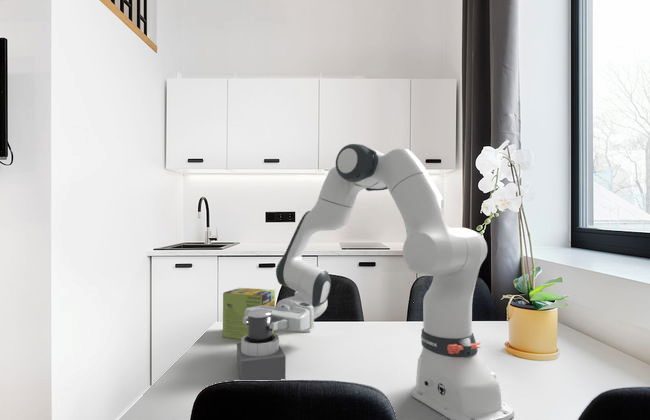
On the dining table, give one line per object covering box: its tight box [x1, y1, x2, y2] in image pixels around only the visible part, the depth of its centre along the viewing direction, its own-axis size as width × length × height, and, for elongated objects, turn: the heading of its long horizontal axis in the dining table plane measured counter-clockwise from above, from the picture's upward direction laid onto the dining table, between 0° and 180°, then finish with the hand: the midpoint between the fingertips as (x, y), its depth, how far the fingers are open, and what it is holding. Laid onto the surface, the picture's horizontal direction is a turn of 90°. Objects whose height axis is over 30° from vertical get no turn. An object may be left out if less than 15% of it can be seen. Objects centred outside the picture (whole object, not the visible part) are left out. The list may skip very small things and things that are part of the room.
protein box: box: [222, 287, 276, 340], centre depth 133 cm, size 10×15×16 cm
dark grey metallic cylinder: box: [248, 309, 272, 343], centre depth 102 cm, size 6×6×10 cm
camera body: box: [236, 333, 287, 380], centre depth 102 cm, size 14×11×9 cm
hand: (257, 324), depth 101 cm, fingers open, 8 cm apart
